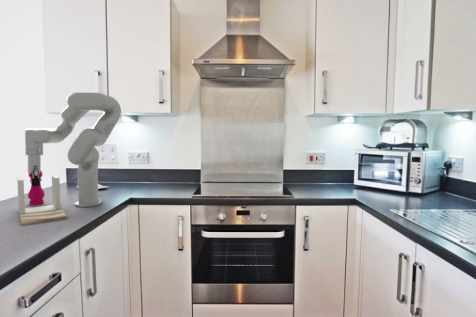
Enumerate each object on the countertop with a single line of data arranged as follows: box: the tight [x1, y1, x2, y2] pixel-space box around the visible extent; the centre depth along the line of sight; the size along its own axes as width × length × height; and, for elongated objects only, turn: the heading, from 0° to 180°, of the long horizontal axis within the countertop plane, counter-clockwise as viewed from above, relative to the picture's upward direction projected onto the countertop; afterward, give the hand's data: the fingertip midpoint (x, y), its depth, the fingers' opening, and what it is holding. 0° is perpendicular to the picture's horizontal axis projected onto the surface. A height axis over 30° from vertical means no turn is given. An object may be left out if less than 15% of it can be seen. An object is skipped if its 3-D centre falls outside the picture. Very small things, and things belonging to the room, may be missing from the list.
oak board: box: [19, 208, 68, 226], centre depth 125 cm, size 16×16×1 cm
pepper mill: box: [27, 169, 45, 206], centre depth 148 cm, size 7×7×20 cm
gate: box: [16, 174, 61, 216], centre depth 136 cm, size 10×16×16 cm, turn 130°
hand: (34, 184), depth 148 cm, fingers open, 9 cm apart
